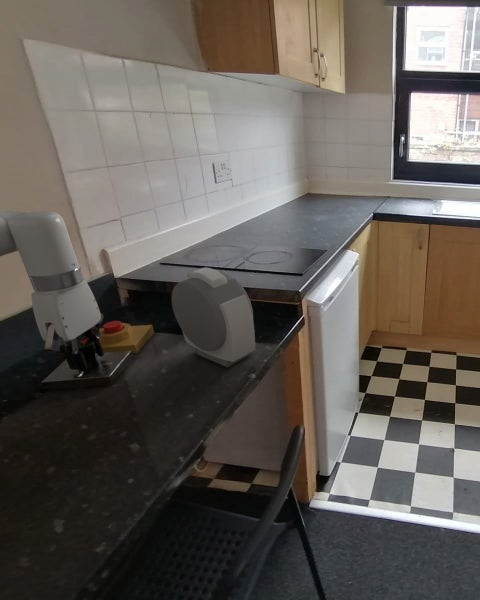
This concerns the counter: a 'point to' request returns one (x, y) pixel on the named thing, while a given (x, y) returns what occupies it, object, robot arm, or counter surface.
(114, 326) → the press knob
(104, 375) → the dial plate
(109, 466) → the counter surface
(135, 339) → the knob block
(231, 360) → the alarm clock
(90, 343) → the dial
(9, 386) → the counter surface
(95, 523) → the counter surface
